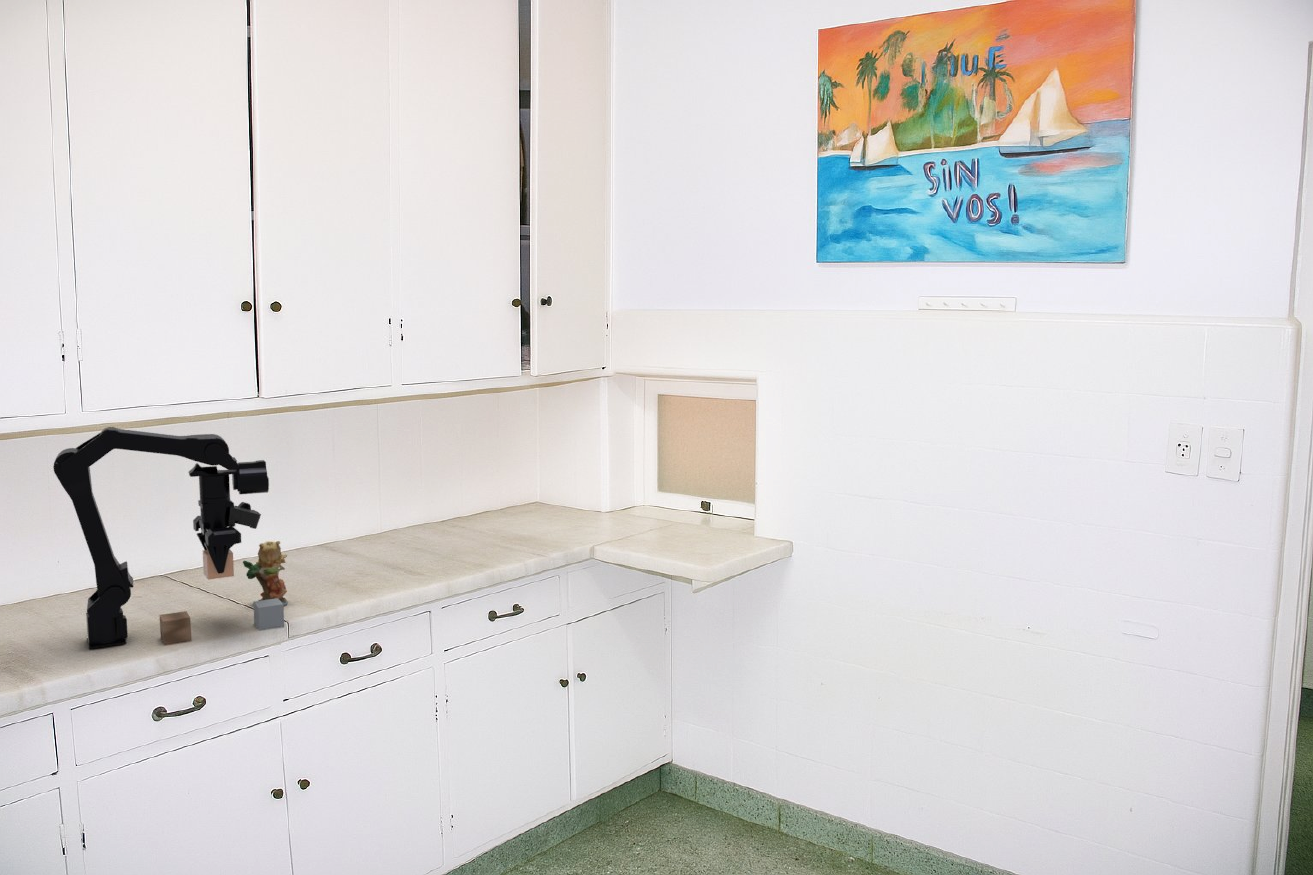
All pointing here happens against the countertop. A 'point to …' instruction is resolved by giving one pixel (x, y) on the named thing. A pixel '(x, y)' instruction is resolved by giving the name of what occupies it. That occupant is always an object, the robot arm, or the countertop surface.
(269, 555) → the figurine
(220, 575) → the terracotta cube
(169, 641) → the walnut cube
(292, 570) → the countertop surface
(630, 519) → the countertop surface
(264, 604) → the slate cube
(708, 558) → the countertop surface
